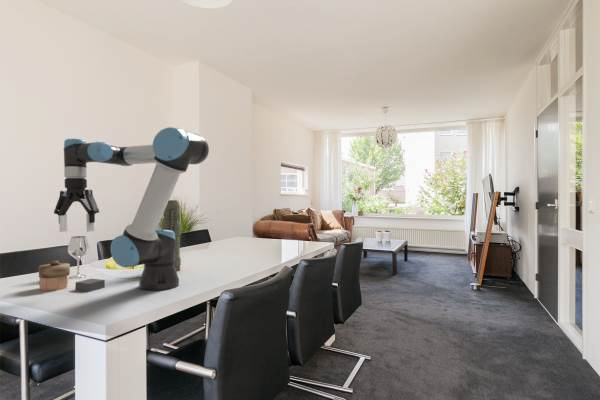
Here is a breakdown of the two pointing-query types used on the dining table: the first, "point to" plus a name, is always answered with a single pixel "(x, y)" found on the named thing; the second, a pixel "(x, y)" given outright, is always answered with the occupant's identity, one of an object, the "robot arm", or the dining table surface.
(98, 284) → the stand
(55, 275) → the lid
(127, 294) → the dining table surface
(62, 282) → the bowl
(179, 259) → the thermos
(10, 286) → the dining table surface
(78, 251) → the wineglass
